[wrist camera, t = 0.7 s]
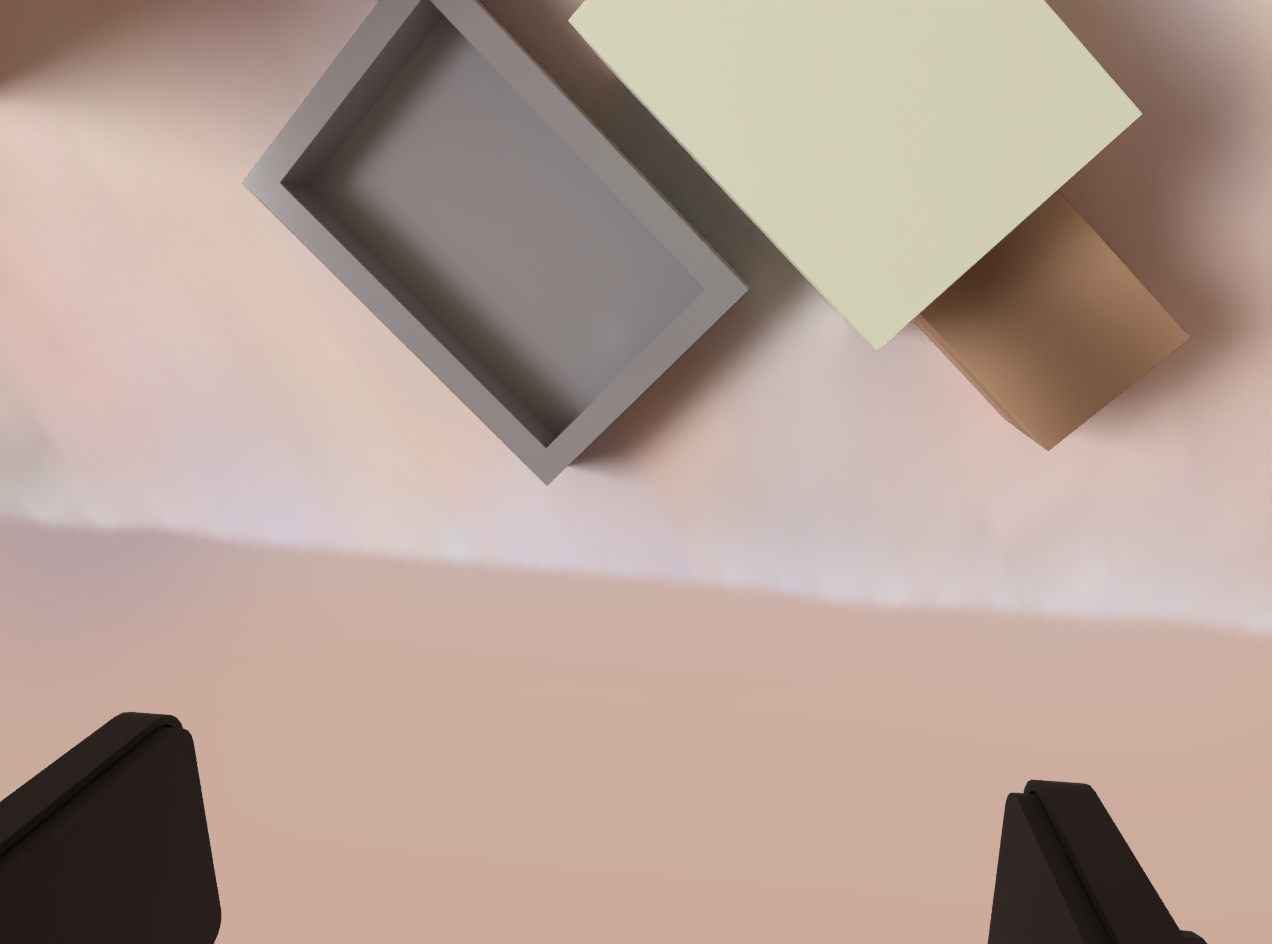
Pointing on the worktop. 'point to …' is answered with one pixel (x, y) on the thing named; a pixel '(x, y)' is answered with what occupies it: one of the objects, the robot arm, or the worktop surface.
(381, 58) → the tray
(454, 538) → the worktop surface
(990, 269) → the block
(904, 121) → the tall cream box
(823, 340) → the worktop surface
